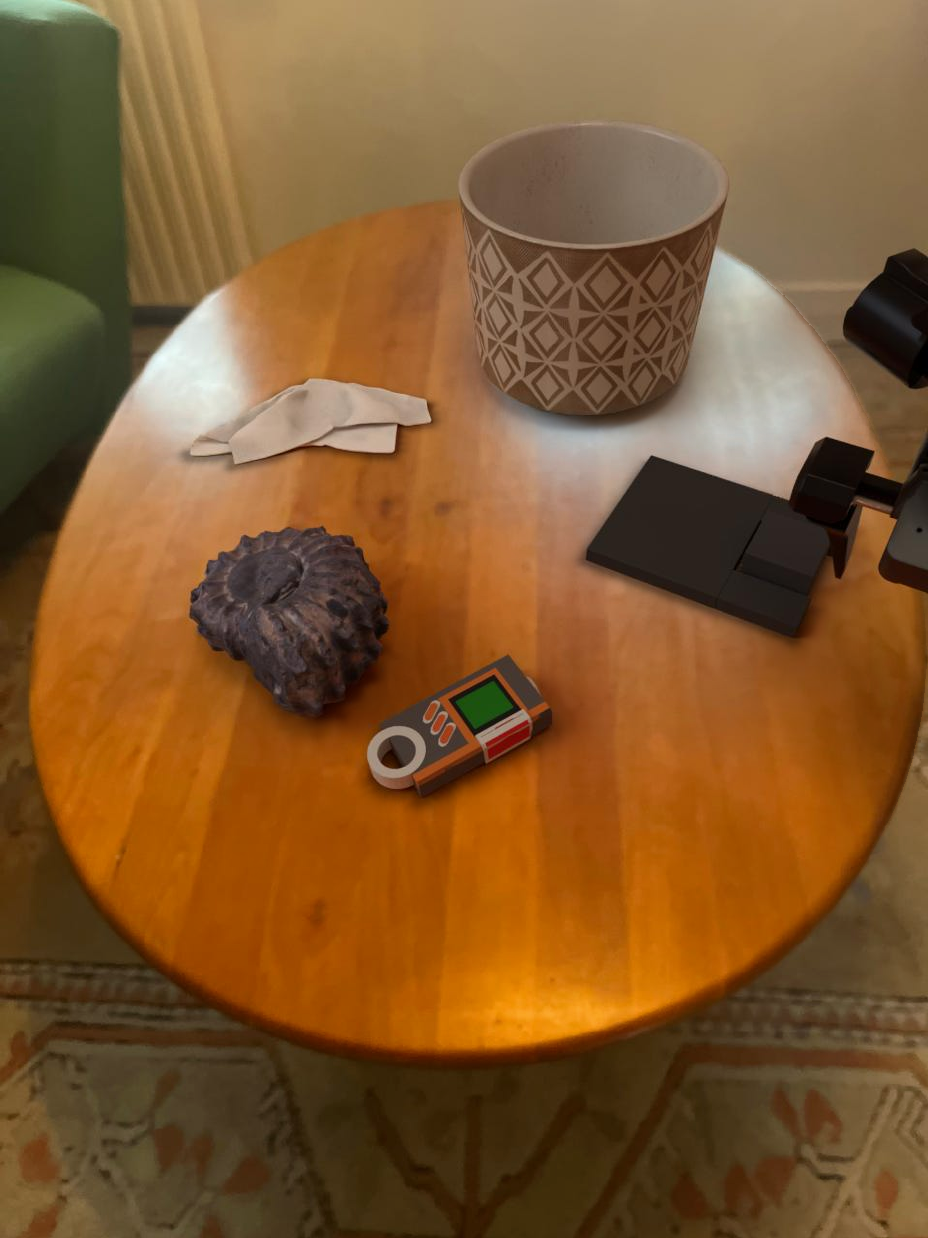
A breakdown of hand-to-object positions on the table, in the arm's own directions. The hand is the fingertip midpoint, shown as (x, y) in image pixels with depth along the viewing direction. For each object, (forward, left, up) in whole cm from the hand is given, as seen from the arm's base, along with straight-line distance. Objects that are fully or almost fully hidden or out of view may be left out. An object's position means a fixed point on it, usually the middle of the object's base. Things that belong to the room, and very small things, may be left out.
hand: (902, 596), depth 70 cm
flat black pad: (+16, -10, -12) cm, 23 cm away
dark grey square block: (+10, -10, -12) cm, 19 cm away
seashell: (+44, +19, -12) cm, 49 cm away
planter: (+40, -30, -12) cm, 51 cm away
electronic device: (+27, +20, -12) cm, 36 cm away
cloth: (+62, -8, -12) cm, 64 cm away
